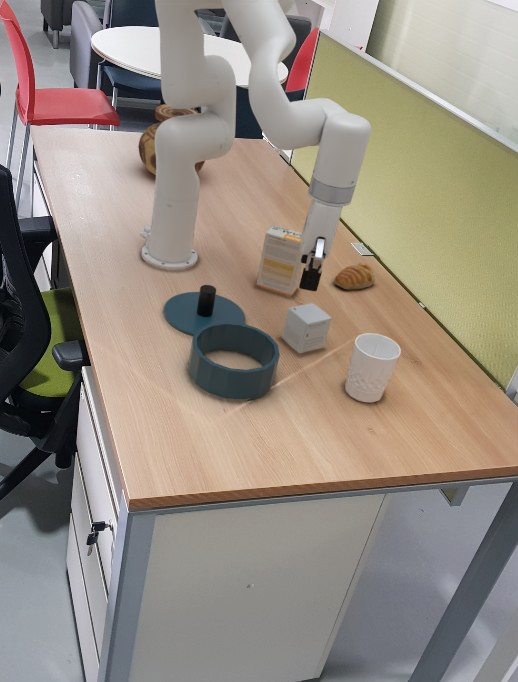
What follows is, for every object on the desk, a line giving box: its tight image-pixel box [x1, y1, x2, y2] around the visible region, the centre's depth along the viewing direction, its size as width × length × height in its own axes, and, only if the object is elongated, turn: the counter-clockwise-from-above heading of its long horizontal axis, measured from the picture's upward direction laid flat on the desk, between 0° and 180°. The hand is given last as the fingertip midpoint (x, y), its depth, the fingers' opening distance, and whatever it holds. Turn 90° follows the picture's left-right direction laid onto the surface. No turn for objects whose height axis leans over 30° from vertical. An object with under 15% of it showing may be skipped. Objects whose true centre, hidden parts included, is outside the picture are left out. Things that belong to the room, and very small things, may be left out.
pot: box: [188, 322, 281, 402], centre depth 132 cm, size 15×15×6 cm
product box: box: [281, 302, 333, 354], centre depth 142 cm, size 6×6×7 cm
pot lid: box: [163, 284, 246, 337], centre depth 146 cm, size 16×16×7 cm
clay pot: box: [138, 103, 206, 176], centre depth 203 cm, size 19×19×20 cm
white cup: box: [344, 332, 402, 404], centre depth 131 cm, size 8×8×10 cm
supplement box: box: [255, 224, 304, 297], centre depth 158 cm, size 8×5×13 cm, turn 65°
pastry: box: [334, 262, 376, 291], centre depth 166 cm, size 9×7×4 cm
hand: (308, 276), depth 137 cm, fingers open, 9 cm apart
